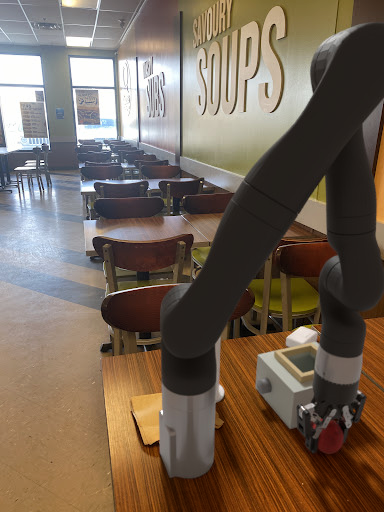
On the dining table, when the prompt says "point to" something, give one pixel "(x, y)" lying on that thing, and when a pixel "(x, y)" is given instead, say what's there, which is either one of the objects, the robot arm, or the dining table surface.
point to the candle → (218, 387)
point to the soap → (301, 337)
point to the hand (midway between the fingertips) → (325, 444)
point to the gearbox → (287, 379)
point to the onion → (330, 438)
